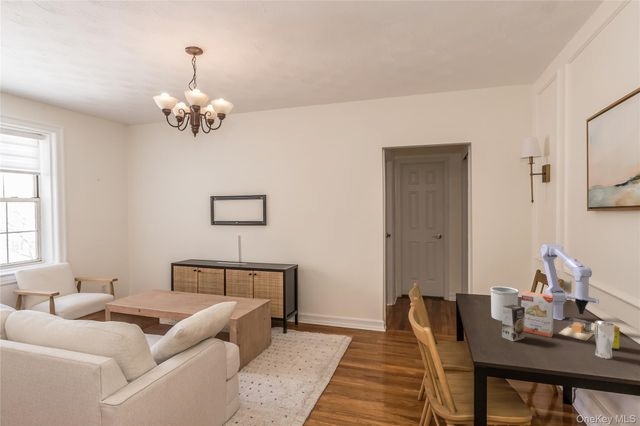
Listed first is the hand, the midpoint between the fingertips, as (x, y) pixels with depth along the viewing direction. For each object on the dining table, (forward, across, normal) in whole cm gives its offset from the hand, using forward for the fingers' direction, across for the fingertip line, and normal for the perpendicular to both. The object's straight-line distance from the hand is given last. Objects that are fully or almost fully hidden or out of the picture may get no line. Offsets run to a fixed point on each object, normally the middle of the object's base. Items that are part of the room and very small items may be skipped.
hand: (581, 313), depth 184 cm
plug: (+8, 0, -3) cm, 9 cm away
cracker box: (+9, -14, -25) cm, 30 cm away
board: (+8, 0, -1) cm, 9 cm away
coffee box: (+9, -19, -42) cm, 47 cm away
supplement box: (+9, +14, -19) cm, 25 cm away
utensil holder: (+9, -34, -14) cm, 38 cm away
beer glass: (+9, +15, -33) cm, 37 cm away
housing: (+8, 0, -2) cm, 8 cm away
